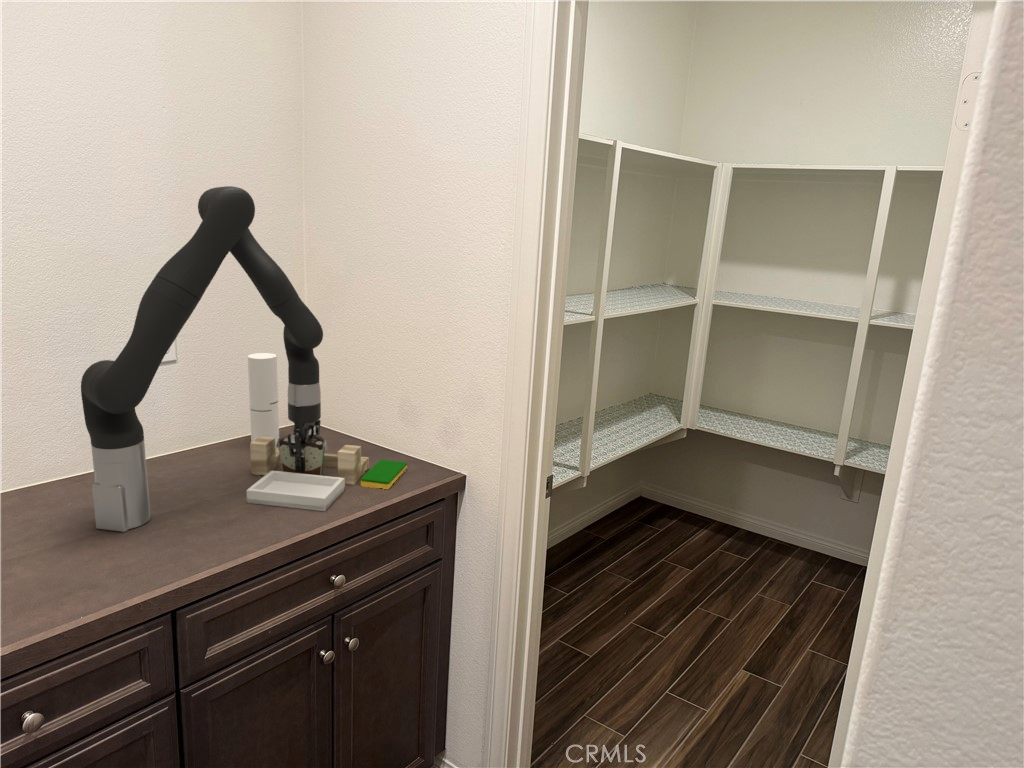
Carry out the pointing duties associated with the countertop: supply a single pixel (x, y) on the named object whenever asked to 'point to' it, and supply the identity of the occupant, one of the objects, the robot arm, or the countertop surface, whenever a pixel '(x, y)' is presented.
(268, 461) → the holder
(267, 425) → the cylindrical container
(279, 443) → the food container
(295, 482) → the tray
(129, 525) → the robot arm
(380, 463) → the dish sponge
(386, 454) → the countertop surface
